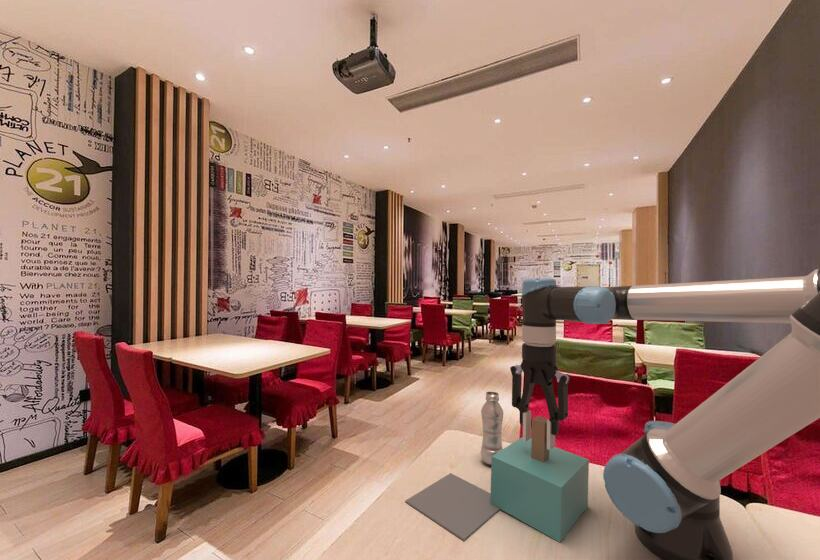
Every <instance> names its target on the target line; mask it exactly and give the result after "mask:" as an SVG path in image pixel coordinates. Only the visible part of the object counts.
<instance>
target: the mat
mask: <svg viewBox="0 0 820 560" xmlns="http://www.w3.org/2000/svg"><path fill="white" fill-rule="evenodd" d="M490 498H491V492H490V491H489V492H488V491H486V490H485V489H484V488H480V487H479V486H477V485H475V484H473V483H471V482H469V481H467V480H466V479H463V478H461V477H460V476H457V475H455V474H453V473H451V472H450V473H448V474H447V475H445V476H443V477H442V478H439V480H437V481H435V482H433V483H432V484H430V485H428V486H427V487H425V488H424V489H422V490H420V491H419V492H417V493H415V494H414V495H412V496H410V497H409V498H407V499H405V502H404V503H406V504H407V505H409V506H410V507H412V508H413V509H415V510H416V511H418V513H420V514H422V515H423V516H425V517H426V518H428V519H430V520H431V521H433V522H434V523H436V524H437V526H440V527H442V528H443V529H444V530H446V531H447V532H449V533H450V534H453V535H454V536H455V537H457V538H458V539H459V540H461V541H463V542H465V541H466V540H467V539H469V538H470V537H471V536H472V535H473V534H474V533H476V531H478V530H480V528H481V527H482V526H484V525H485V524H486V523H487V522H488V521H490V520H491V518H493V516H495V515H496V514H497V513H498V512H499V511H502V510H501V509H499V508H497V507H496V506H494V505H492V504H490Z"/></svg>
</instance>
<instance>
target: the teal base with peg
mask: <svg viewBox="0 0 820 560" xmlns="http://www.w3.org/2000/svg"><path fill="white" fill-rule="evenodd" d="M548 419H549V418H546V417H544V416H541V415H537V416H535V417H533V418H531V438H530V439H529V440H527V441H523V436H522V437H520V438H518V439H517V440H515V441H513V442H512V443H511V444H509V445H507V446H506V447H504V448H503V449H502V450H501V451H499V452H498V453H496V454H495V455H493V456H492V462H491V465H490V466H491V467H490V469H491V470H490V493H491V498H490V504H492V505H494V506H496V507H497V508H499V509H501V510H500V511H503V512H504V513H507V514H508V515H511V516H512V517H513V518H516V519H518V520H519V521H521V522H523V523H525V524H526V525H528V526H530V527H532V528H533V529H536V530H537V531H539V532H540V533H542V534H544V535H546V536H548V537H549V538H551V539H553V540H555V541H557V542H558V543H562V541H563V540H564V538H565V537H566V536H567V534H568V533H569V531H570V530H571V529H572V528H573V526H574V525H575V524H576V522H577V521H578V520H579V518H580V517H581V516H582V515H583V514H584V513H585V510H587V508H588V503H589V473H590V471H589V470H590V469H589V468H590V460H589V458H586V457H584V456H581V455H579V454H578V455H577V454H575V453H572V452H570V451H567V450H564V449H562V448H559V447H556V446H555V447H553V448H552V449H551V450H548V449H547V420H548Z"/></svg>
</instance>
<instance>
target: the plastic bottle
mask: <svg viewBox="0 0 820 560" xmlns="http://www.w3.org/2000/svg"><path fill="white" fill-rule="evenodd" d="M499 395H500V394H499V393H498V392H495V391H486V393H485V400H486V401H485V403H484V404H483V405H482V407H481V411H480V413H481V415H480V416H481V422H482V443H481V449H480V456H481V460H482V461H483V462H484V464H486V465H488V466H491V462H492V456H493V455H495V454H496V453H498V452H499V451H501V450H502V449H504V448H503V441H502V440H503V439H502V433H503V432H502V430H503V421H504V410H503V408H502V406H501V405H500V403H499V401H500V397H499Z"/></svg>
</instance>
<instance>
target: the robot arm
mask: <svg viewBox="0 0 820 560" xmlns="http://www.w3.org/2000/svg"><path fill="white" fill-rule="evenodd" d="M520 297H521V310H522V320H521V323H522V324H521V342H523V343H522V345H521V358H522V361H521V363H520V364H515V365H513V366H510V367H509V369H510V370H509V371H510V372H511V376H512V378H511V380H512V381H511V406H512V407H513V408H516V409H518V411H519V424H520V425H522V437H523V441H527V440H529V439H530V438H532V411H531V410H529V409H530V407H529V406H530V403H531V399H532V395H533V392H534V386H535V384H537V385H539V386H541V390H542V391H543V394H544V398H545V403H546V406H547V410H548V414H549V418H547V419H548V420H547V449H548V450H551V449H552V448H553V447H556V436H557V435H558V434H559V432H560V421H565V420H566V419H567V418H568V417H569V398H568V397H569V395H568V394H569V393H568V389H569V388H568V384H569V382H570V380H571V375H570V374H568V373H566V374H565V373H562V372H561V371H559V369H558V366H557V346H556V345H555V343H557V321H565V322H573V323H575V322H577V323H584V324H587V325H595V324H596V325H598V324H599V325H600V324H601V325H605V324H606V325H607V324H608V323H610V322H611V320H612V321H613V320H621V321H622V320H623V321H625V320H627V321H633V320H637V321H638V320H640V321H642V320H643V321H675V322H677V321H684V322H715V323H717V322H719V323H720V322H725V323H726V322H727V323H729V322H730V323H758V324H759V323H763V324H766V323H769V324H790V325H791V326H790V327H791V331H790V333H789V334H788V335H786V336H785V337H784V338H783V339H781V340H780V341H779V342H778V343H776V344H775V345H774V346H773V347H771V348H770V349H768V351H766V352H765V353H764V354H762V355H761V356H760V357H759V358H757V359H756V360H755V361H753V362H752V363H751V364H749V365H748V366H747V367H746V368H745V369H743V370H742V371H741V372H740V373H738V374H737V375H736V376H735V377H734V378H732V379H731V380H729V381H728V382H726V383H725V384H724V385H723V386H722V387H721V388H719V389H718V390H716V392H714V393H713V394H712V395H710V396H709V397H708V398H707V399H705V400H704V401H702V402H701V403H700V404H699V405H698V406H697V407H695V408H694V409H693V410H691V411H690V412H689V413H688V414H686V415H685V416H684V417H682V418H681V419H680V420H679V421H677V423H673V422H670V421H661V420H649V421H647V422H646V423H645V425H644V429H643V433H644V434H643V435H642V436H641V437H640V438H639V439H637V440H636V441H635V442H633V443H632V444H631V445H630V446H629V447H627V448H626V449H625V450H624V451H622V452H620V453H618V454H615V455H613V456H612V457H611V458H609V461H607V462H606V464H605V466H604V468H603V480H604V487H605V491H606V493H607V494H608V497H609V498H610V501H611V502H612V503H613V505H614V506H615V507H616V509H617V510H618V511H619V512H620V513H621V514H622V516H623V517H625V519H627V520H628V521H630V523H632V524H633V525H634V528H635V529H634V531H635V534H636V536H637V537H638V539H639V540H640V542H641V543H642V544H643V546H645V547H646V548H647V549H648V550H649V551H651V552H652V553H653V554H654V555H656V557H657V556H658V557H659V558H661V559H662V560H734V559H733V557H734V556H733V555H734V553H733V550H732V547H731V546H732V545H731V544H730V541H729V538H728V535H727V533H726V531H725V528H724V525H723V523H722V519H721V512H720V505H721V504H720V503H721V501H720V498H721V497H720V496H721V493H722V492H721V491H722V490H721V489H722V488H721V484H720V481H721V480H722V479H724V478H726V477H727V476H729V475H730V474H732V473H733V472H735V471H737V470H739V469H740V468H742V467H743V466H745V465H747V464H748V463H750V462H751V461H752V460H755V459H756V458H757V457H760V456H761V455H763V454H764V453H766V452H768V451H769V450H770V449H773V448H774V447H776V446H777V445H779V444H780V443H782V442H783V441H785V440H786V439H788V438H789V437H791V436H793V435H795V434H796V433H797V432H800V431H801V430H803V429H804V428H806V427H807V426H809V425H811V424H812V423H813V422H816V421H817V420H819V419H820V268H817V269H814V270H813V271H811V272H810V273H809V274H808V275H804V276H803V275H801V276H785V277H769V278H766V277H765V278H751V279H747V278H746V279H731V280H729V279H728V280H713V281H696V282H695V281H694V282H693V281H692V282H677V283H659V284H658V283H657V284H655V283H654V284H640V285H639V284H638V285H623V286H622V285H621V286H594V285H590V286H558V285H557V281H556V279H555V278H553V277H529V278H528V277H527V278H525V279H524V280H523V282H522V291H521V296H520ZM522 373H523V374H524V376H525V380H524V387H523V390H522V384H523V383H522V378H523V377H522V375H523V374H522ZM555 378H556V381H557V383H558V384H557V399H556V395H555V391H554V390H555V389H554V382H553V379H555Z"/></svg>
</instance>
